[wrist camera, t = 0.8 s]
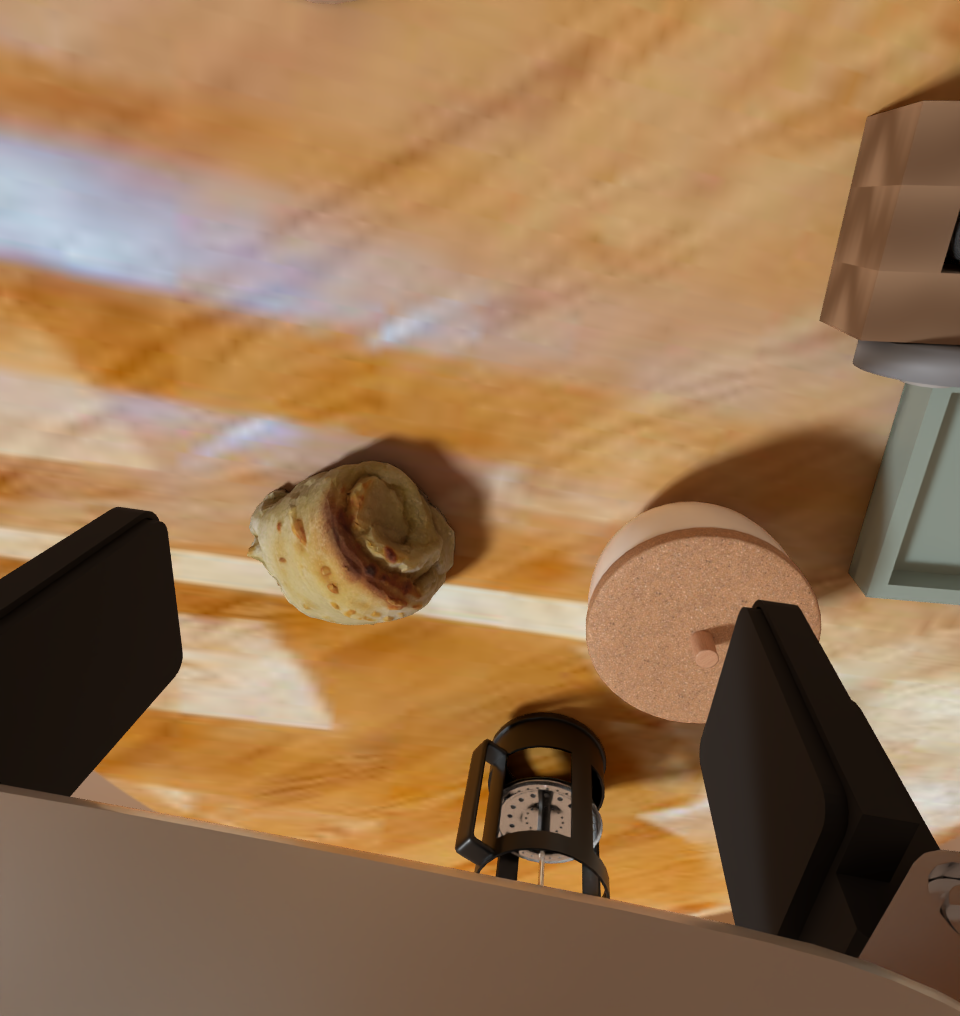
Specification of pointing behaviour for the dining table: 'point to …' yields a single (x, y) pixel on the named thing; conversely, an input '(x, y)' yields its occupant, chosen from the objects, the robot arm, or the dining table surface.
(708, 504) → the lidded bowl
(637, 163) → the dining table surface
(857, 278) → the block
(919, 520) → the tray
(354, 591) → the pastry
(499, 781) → the french press
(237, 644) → the dining table surface
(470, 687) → the dining table surface
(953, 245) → the lock pin
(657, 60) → the dining table surface
